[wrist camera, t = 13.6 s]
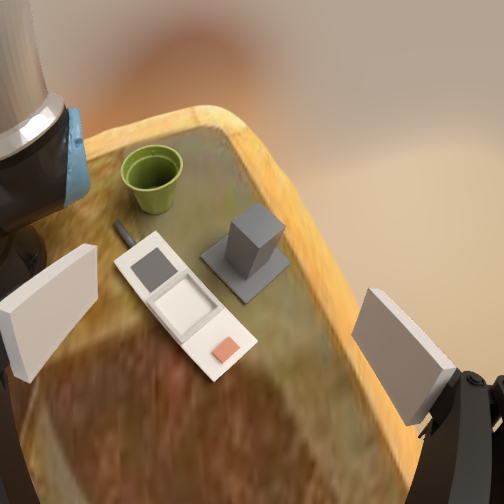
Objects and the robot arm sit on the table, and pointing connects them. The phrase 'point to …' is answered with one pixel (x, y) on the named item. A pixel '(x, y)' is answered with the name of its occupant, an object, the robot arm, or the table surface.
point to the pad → (234, 279)
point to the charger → (252, 239)
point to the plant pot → (152, 176)
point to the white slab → (183, 304)
